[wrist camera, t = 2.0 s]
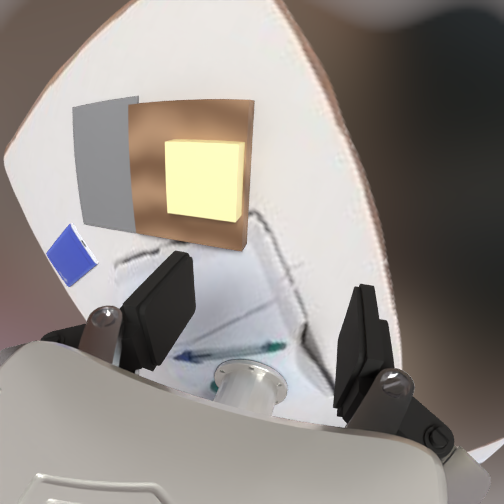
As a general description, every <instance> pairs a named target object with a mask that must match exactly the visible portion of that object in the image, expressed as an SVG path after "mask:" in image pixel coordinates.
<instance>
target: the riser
mask: <svg viewBox="0 0 504 504" xmlns="http://www.w3.org/2000/svg"><path fill="white" fill-rule="evenodd" d="M253 118H254V101H253V100H234V99H202V100H176V101H161V102H149V103H139V104H130V105H128V133H129V159H130V175H131V188H132V200H133V210H134V219H135V227H136V233H139V234H145V235H150V236H156V237H162V238H167V239H173V240H179V241H185V242H190V243H196V244H202V245H208V246H213V247H219V248H225V249H231V250H236V251H242V250H243V249H244V247H245V245H246V244H247V227H248V208H249V190H250V171H251V153H252V135H253ZM174 139H189V140H217V141H234V142H245V150H244V171H243V192H242V215H241V217H240V218H239V219H238V220H237V221H236V222H229V221H222V220H215V219H208V218H201V217H194V216H187V215H180V214H172V213H168V212H167V195H166V170H165V142H166V141H170V140H174Z"/></svg>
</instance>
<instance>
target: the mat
mask: <svg viewBox="0 0 504 504" xmlns="http://www.w3.org/2000/svg"><path fill="white" fill-rule="evenodd" d="M138 101H139V96H134V97H126V98H120V99H113V100H107V101H102V102H96V103H91V104H86V105H81V106H77V107H73V137H74V152H75V164H76V173H77V182H78V190H79V197H80V204H81V210H82V216H83V222H84V224H86V225H92V226H98V227H103V228H109V229H115V230H120V231H126V232H132V233H136V227H135V219H134V210H133V200H132V188H131V175H130V159H129V133H128V105H130V104H138ZM137 234H139V233H137ZM143 235H144V234H143Z"/></svg>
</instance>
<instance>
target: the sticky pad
mask: <svg viewBox="0 0 504 504" xmlns="http://www.w3.org/2000/svg"><path fill="white" fill-rule="evenodd" d="M244 150H245V142H234V141H217V140H189V139H174V140H170V141H166V142H165V170H166V195H167V212H168V213H172V214H180V215H187V216H194V217H201V218H208V219H215V220H222V221H229V222H236V221H237V220H238V219H239V218H240V217H241V215H242V192H243V171H244Z"/></svg>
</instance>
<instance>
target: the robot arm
mask: <svg viewBox="0 0 504 504" xmlns="http://www.w3.org/2000/svg"><path fill="white" fill-rule="evenodd" d="M195 308H196V303H195V290H194V275H193V260H192V257H189V254H188V253H185V252H180V251H174V252H173V253H172V254H171V255H170V256H169V257H168V258H167V259H166V260H165V261H164V262H163V263H162V264H161V265H160V266H159V267H158V268H157V269H156V270H155V271H154V272H153V273H152V274H151V275H150V276H149V277H148V278H147V279H146V280H145V281H144V282H143V283H142V284H141V285H140V286H139V287H138V288H137V289H136V290H135V291H134V293H133V294H132V295H131V296H130V297H129V298H128V299H127V300H126V301H125V302H124V303H123V306H122V307H121V308H120V309H119V308H117V307H115V306H102V307H99V308H97V309H95V310H94V311H93V312H92V313H91V314H90V315H89V317H88V320H87V322H86V324H82V325H78V326H74V327H70V328H65V329H61V330H57V331H52V332H50V333H48V334H46V335H44V336H43V338H41V340H40V341H33V342H29V343H25V344H21V345H17V346H13V347H9V348H5V349H3V350H1V351H0V504H480V503H481V501H482V500H483V498H484V497H485V495H486V494H487V493H488V491H489V489H490V485H491V479H490V476H489V474H488V473H487V471H486V470H485V469H484V468H483V467H482V466H480V465H479V464H478V463H477V462H476V461H475V460H474V459H473V458H472V457H471V456H470V455H469V454H468V453H467V452H466V451H465V450H464V449H463V448H462V447H461V446H459V447H456V446H455V445H454V436H453V434H452V432H451V430H450V429H449V428H448V427H447V426H446V425H445V424H444V423H443V422H442V421H440V420H439V419H438V418H437V417H436V416H435V415H434V414H432V413H431V412H430V411H429V410H428V409H427V408H425V407H424V406H423V405H422V404H421V403H420V402H419V401H418V400H416V399H415V398H414V397H413V393H414V389H415V386H414V382H413V380H412V378H411V377H410V376H409V375H408V374H407V373H406V372H404V371H403V370H400V369H397V368H394V360H393V353H392V345H391V339H390V332H389V326H388V322H387V321H386V320H381V319H379V313H378V307H377V301H376V294H375V289H374V286H371V285H365V284H360V285H359V287H354V290H353V293H352V297H351V300H350V303H349V307H348V310H347V313H346V316H345V319H344V322H343V325H342V328H341V331H340V334H339V338H338V347H337V365H336V379H335V391H334V402H333V408H337V416H339V417H343V418H342V419H343V420H344V421H345V422H346V423H347V425H346V426H345V428H341V427H334V426H327V425H320V424H314V423H307V422H301V421H295V420H290V419H285V418H279V417H275V416H272V412H273V409H274V405H277V404H279V403H281V402H282V401H283V400H284V399H285V397H286V395H287V391H288V386H287V383H286V381H285V379H284V378H283V377H282V376H281V375H280V374H279V373H278V372H277V371H275V370H274V369H272V368H270V367H269V366H267V365H264V364H261V363H259V362H255V361H251V360H230V361H227V362H224V363H222V364H221V365H220V366H219V367H218V368H217V370H216V372H215V376H214V379H215V383H216V385H217V386H218V388H219V389H218V391H217V393H216V395H215V398H214V400H213V401H211V400H207V399H204V398H201V397H197V396H194V395H191V394H188V393H185V392H182V391H179V390H176V389H173V388H170V387H168V386H165V385H162V384H159V383H157V382H154V381H151V380H149V379H146V378H144V377H141V376H139V369H142V367H143V368H145V369H148V370H151V371H153V370H154V369H155V367H156V366H157V365H158V366H160V365H161V364H162V362H163V361H164V359H165V357H166V356H167V354H168V353H169V351H170V350H171V348H172V347H173V345H174V343H175V342H176V340H177V339H178V337H179V336H180V334H181V333H182V331H183V330H184V328H185V326H186V325H187V323H188V322H189V320H190V319H191V317H192V316H193V314H194V312H195Z"/></svg>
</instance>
